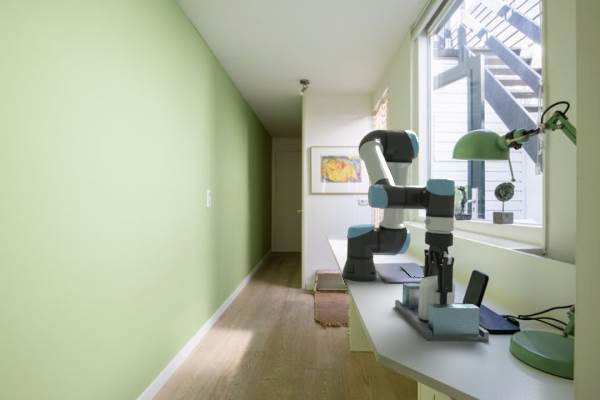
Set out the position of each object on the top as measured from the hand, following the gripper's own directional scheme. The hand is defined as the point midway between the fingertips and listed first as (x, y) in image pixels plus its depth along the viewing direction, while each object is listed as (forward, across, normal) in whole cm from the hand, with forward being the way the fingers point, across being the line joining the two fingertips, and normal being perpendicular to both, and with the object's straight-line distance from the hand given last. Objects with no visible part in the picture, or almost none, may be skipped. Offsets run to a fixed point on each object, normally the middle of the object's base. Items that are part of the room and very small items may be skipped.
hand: (436, 310), depth 93 cm
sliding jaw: (+2, -9, 0) cm, 10 cm away
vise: (+3, 0, 0) cm, 3 cm away
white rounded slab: (+2, 0, 0) cm, 2 cm away
